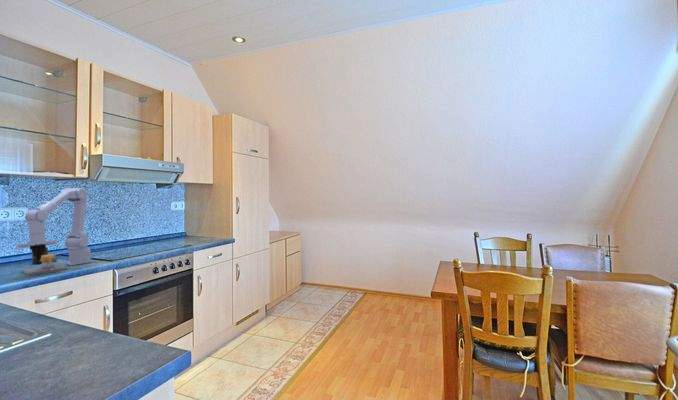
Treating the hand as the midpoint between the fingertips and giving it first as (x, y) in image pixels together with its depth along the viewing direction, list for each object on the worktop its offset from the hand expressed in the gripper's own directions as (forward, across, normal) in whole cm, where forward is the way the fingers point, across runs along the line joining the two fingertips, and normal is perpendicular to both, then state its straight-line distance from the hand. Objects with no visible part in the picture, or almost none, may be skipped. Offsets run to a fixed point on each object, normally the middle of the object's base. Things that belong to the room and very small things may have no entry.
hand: (38, 260), depth 156 cm
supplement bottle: (+7, +7, +33) cm, 35 cm away
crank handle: (+2, +5, +3) cm, 6 cm away
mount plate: (+7, +3, +6) cm, 10 cm away
